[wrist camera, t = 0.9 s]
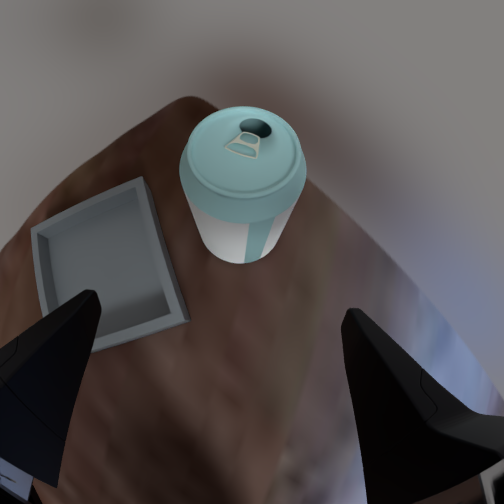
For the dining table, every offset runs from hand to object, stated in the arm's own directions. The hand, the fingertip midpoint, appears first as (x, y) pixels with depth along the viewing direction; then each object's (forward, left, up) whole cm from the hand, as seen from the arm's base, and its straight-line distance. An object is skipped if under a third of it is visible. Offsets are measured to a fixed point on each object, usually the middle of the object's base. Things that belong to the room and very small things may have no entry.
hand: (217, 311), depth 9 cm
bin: (+7, +9, -14) cm, 18 cm away
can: (+7, -4, -14) cm, 16 cm away
